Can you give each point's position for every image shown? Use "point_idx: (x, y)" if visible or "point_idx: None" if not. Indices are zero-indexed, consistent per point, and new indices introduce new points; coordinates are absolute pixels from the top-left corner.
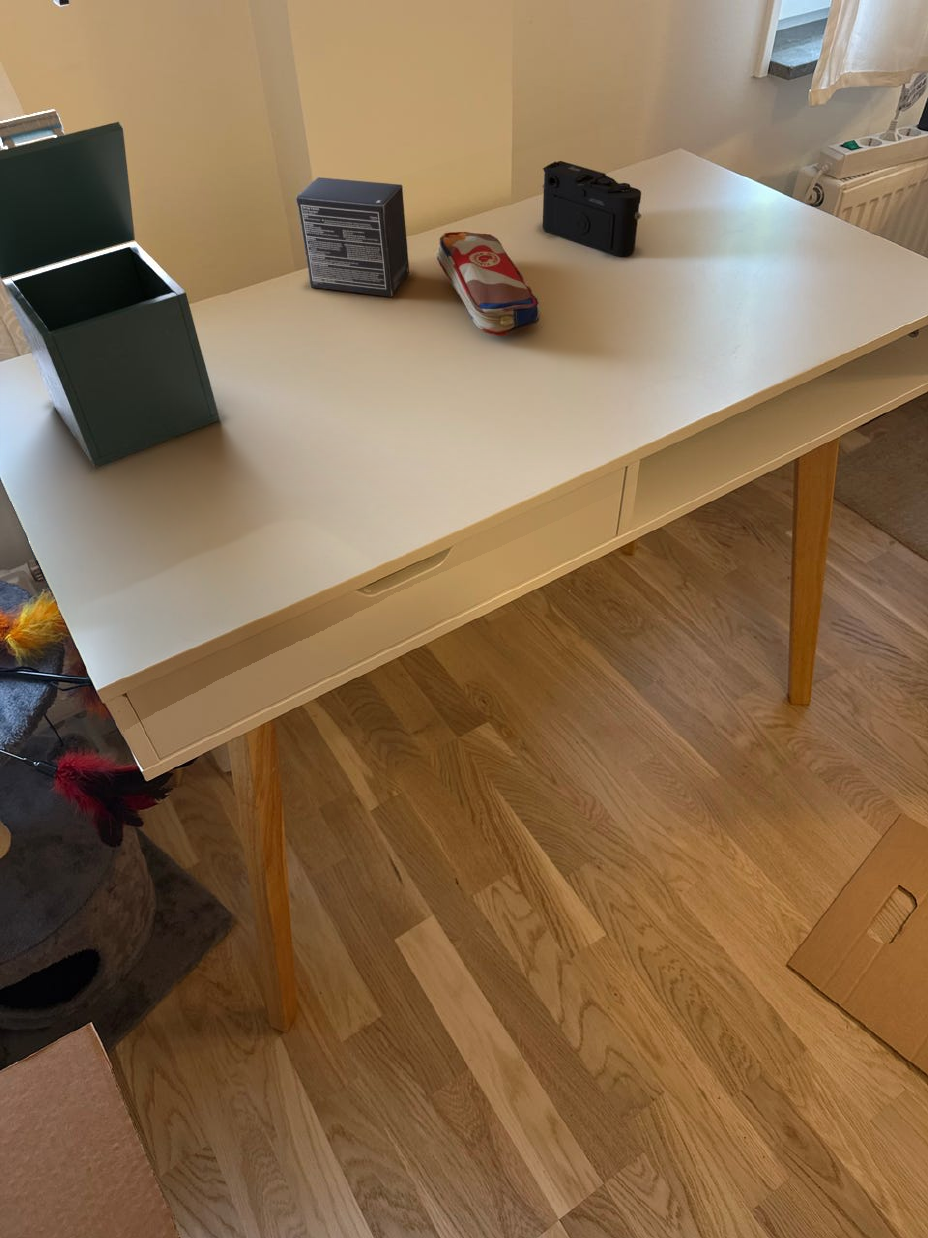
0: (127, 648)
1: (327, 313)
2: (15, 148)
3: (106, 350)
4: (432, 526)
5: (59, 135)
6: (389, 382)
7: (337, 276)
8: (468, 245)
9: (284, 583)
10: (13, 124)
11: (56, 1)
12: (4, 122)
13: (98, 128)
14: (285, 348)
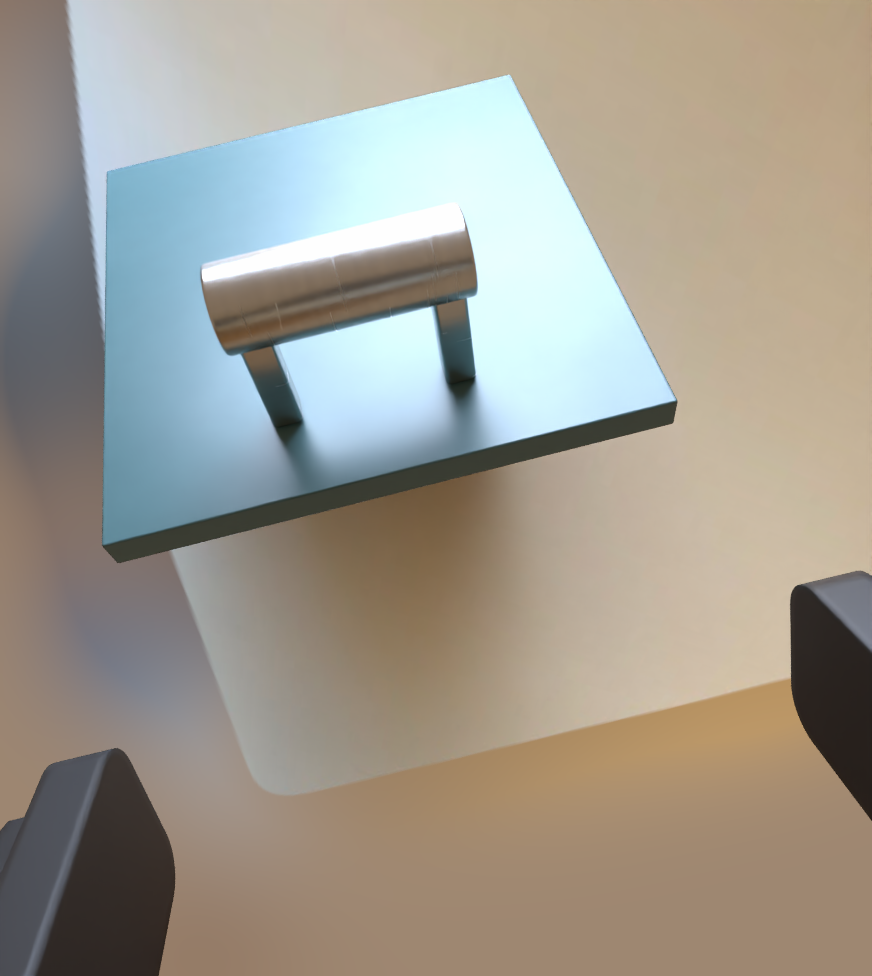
0: (289, 766)
1: (830, 17)
2: (293, 501)
3: None
4: (686, 687)
5: (449, 329)
6: (803, 353)
7: None
8: None
9: (486, 724)
10: (293, 332)
11: (799, 667)
12: (258, 321)
13: (596, 427)
14: (689, 139)
